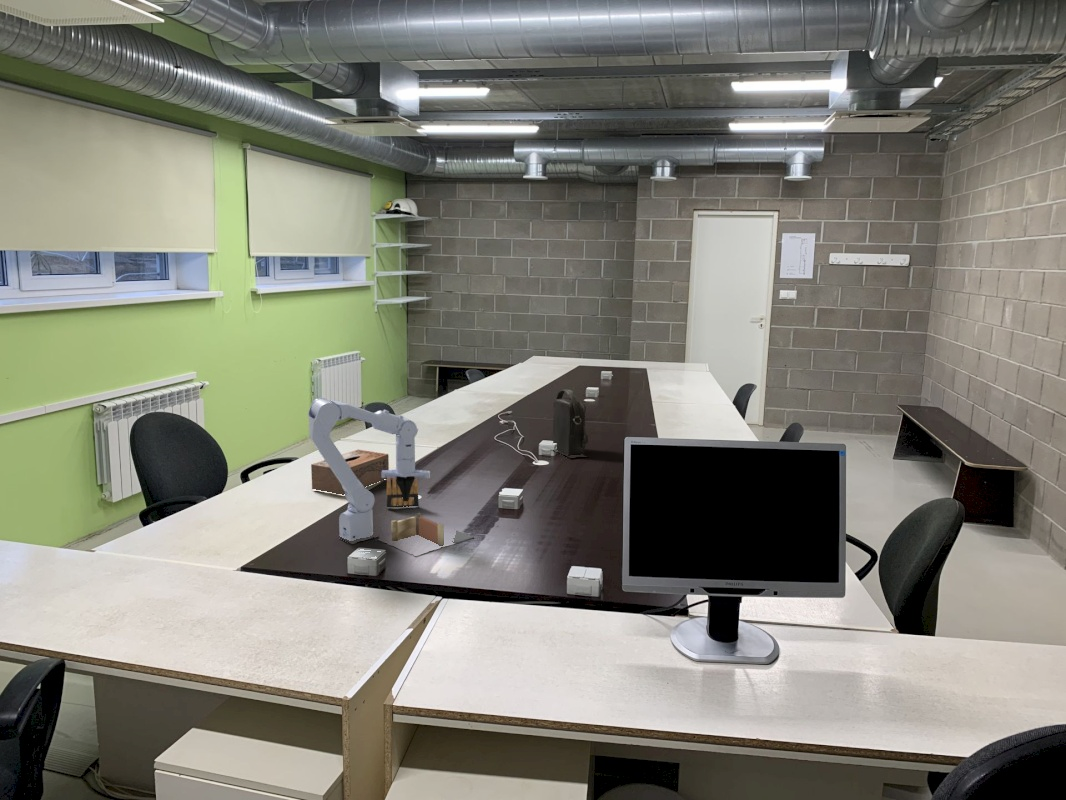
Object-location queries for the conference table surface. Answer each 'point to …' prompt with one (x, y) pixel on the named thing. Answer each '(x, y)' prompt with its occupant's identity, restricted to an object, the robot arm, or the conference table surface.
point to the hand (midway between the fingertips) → (406, 500)
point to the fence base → (405, 528)
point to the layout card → (461, 537)
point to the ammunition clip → (396, 494)
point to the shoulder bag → (569, 424)
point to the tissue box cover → (360, 462)
